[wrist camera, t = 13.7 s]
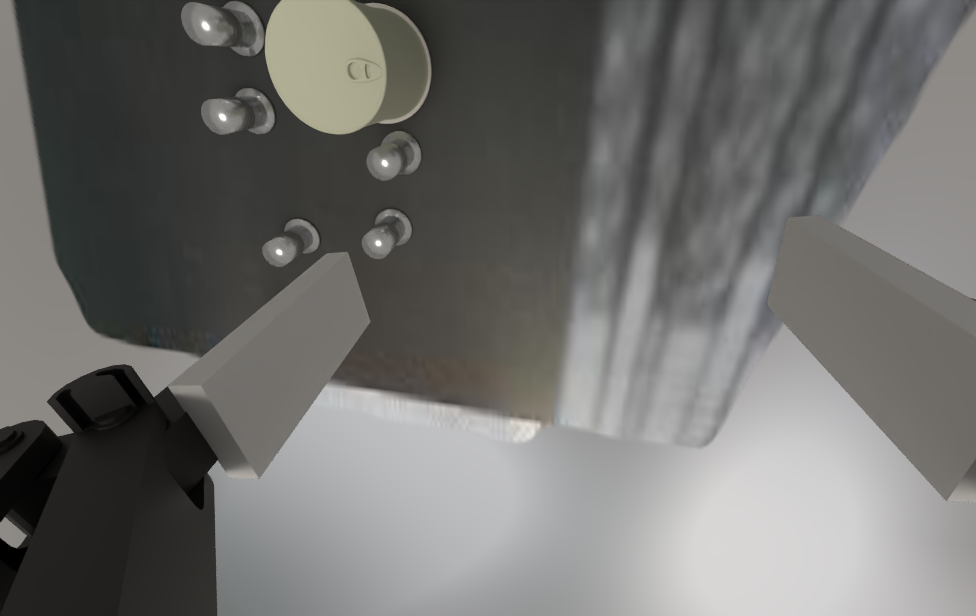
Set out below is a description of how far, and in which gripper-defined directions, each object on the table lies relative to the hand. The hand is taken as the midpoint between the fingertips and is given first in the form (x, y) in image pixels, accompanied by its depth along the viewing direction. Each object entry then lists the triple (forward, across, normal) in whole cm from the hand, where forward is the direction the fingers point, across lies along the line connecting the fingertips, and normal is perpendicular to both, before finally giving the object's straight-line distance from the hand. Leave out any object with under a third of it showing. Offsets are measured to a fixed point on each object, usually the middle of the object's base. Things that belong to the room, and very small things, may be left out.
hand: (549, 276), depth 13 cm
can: (+32, -16, +8) cm, 37 cm away
